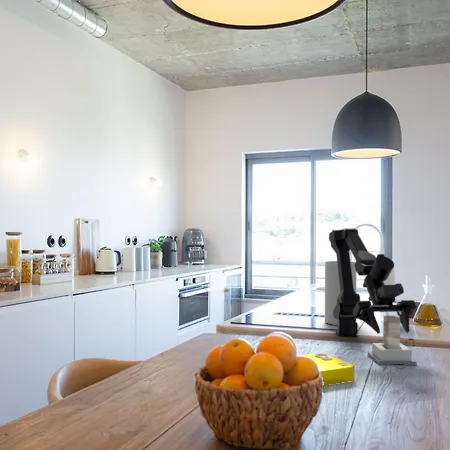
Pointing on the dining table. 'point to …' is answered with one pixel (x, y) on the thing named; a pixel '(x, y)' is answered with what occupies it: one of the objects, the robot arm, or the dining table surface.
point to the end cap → (391, 355)
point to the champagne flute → (389, 282)
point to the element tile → (332, 368)
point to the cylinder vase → (334, 288)
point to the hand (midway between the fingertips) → (393, 332)
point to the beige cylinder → (391, 332)
